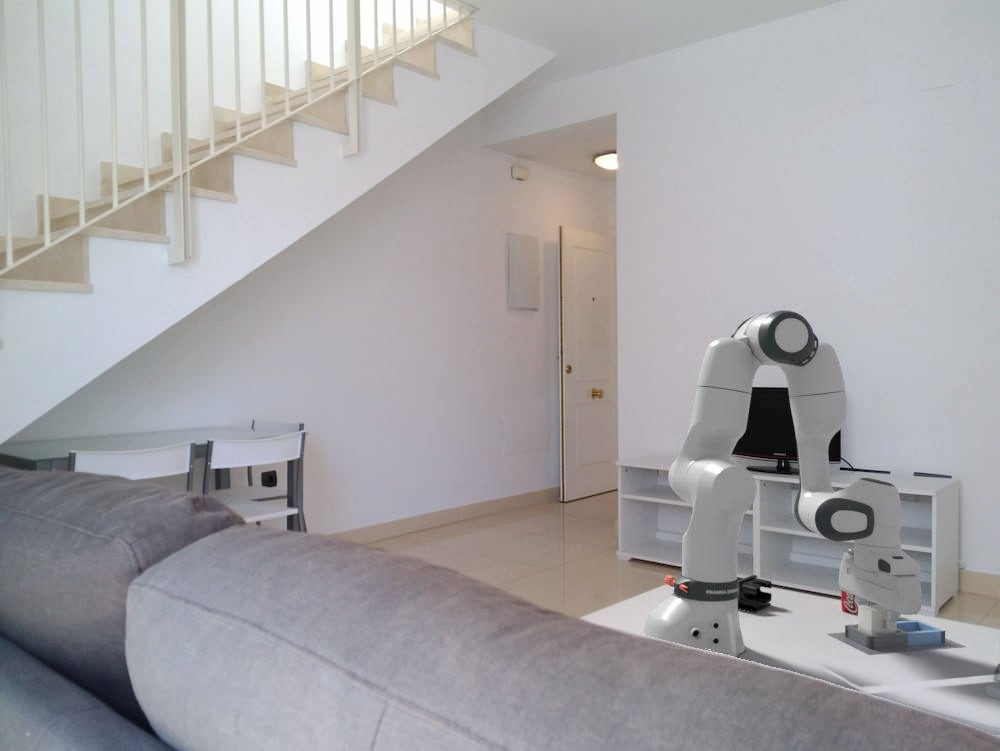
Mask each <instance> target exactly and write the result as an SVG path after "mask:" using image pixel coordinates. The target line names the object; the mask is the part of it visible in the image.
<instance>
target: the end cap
mask: <svg viewBox="0 0 1000 751" xmlns="http://www.w3.org/2000/svg"><path fill="white" fill-rule="evenodd" d="M761 588H766V589H772V581H771V580H767V579H760V578H758V577H757V575H756V574H752V575H750V576H746V577H744V578H741V579H739V602H738V610H739V609H741V610H740V611H742V610H745V611H744V612H747V611H749V612H748V613H752V612H753V613H752V614H757V613H759V612H761V611H763V610H766V609H767V608H770V607H771V605H772V604H771V603H772V593H771V592H766V591H762V590H761ZM769 606H770V607H769ZM758 611H759V612H758ZM756 612H757V613H756Z"/></svg>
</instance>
